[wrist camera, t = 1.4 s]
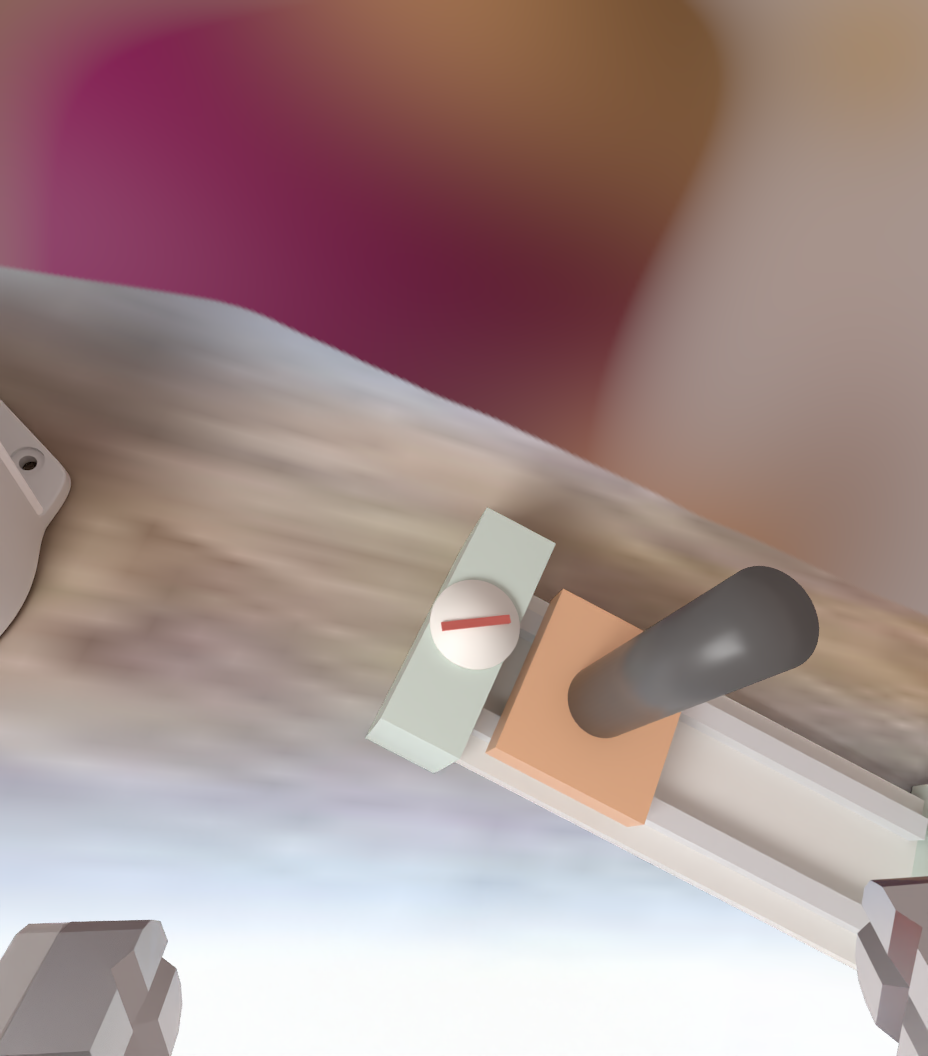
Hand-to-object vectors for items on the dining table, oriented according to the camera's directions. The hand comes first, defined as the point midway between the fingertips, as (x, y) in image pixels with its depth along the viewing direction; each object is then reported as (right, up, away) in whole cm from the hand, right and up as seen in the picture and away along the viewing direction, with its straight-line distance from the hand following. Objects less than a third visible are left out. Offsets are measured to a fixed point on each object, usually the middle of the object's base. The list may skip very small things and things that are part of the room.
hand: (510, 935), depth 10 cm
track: (+12, -9, +36) cm, 39 cm away
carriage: (+6, -5, +33) cm, 34 cm away
